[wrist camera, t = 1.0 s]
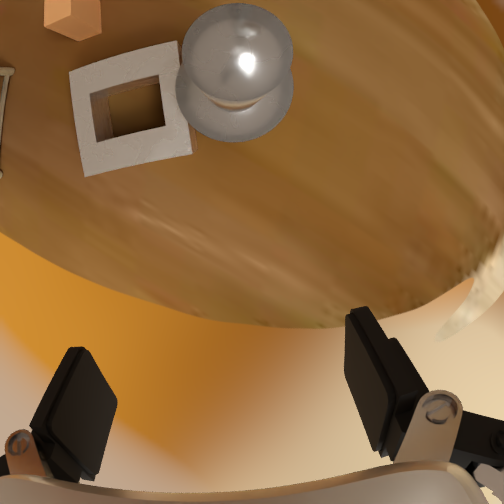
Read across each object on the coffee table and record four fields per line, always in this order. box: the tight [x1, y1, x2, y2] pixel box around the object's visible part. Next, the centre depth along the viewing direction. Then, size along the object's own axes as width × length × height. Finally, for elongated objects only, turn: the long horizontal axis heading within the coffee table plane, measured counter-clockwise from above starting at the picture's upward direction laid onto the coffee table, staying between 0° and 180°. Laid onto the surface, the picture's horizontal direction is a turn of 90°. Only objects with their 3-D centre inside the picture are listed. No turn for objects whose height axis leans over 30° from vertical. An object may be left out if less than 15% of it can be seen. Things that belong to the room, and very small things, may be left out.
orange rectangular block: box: [44, 0, 102, 42], centre depth 21 cm, size 3×5×8 cm, turn 7°
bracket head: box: [69, 3, 294, 177], centre depth 21 cm, size 11×20×20 cm, turn 97°
